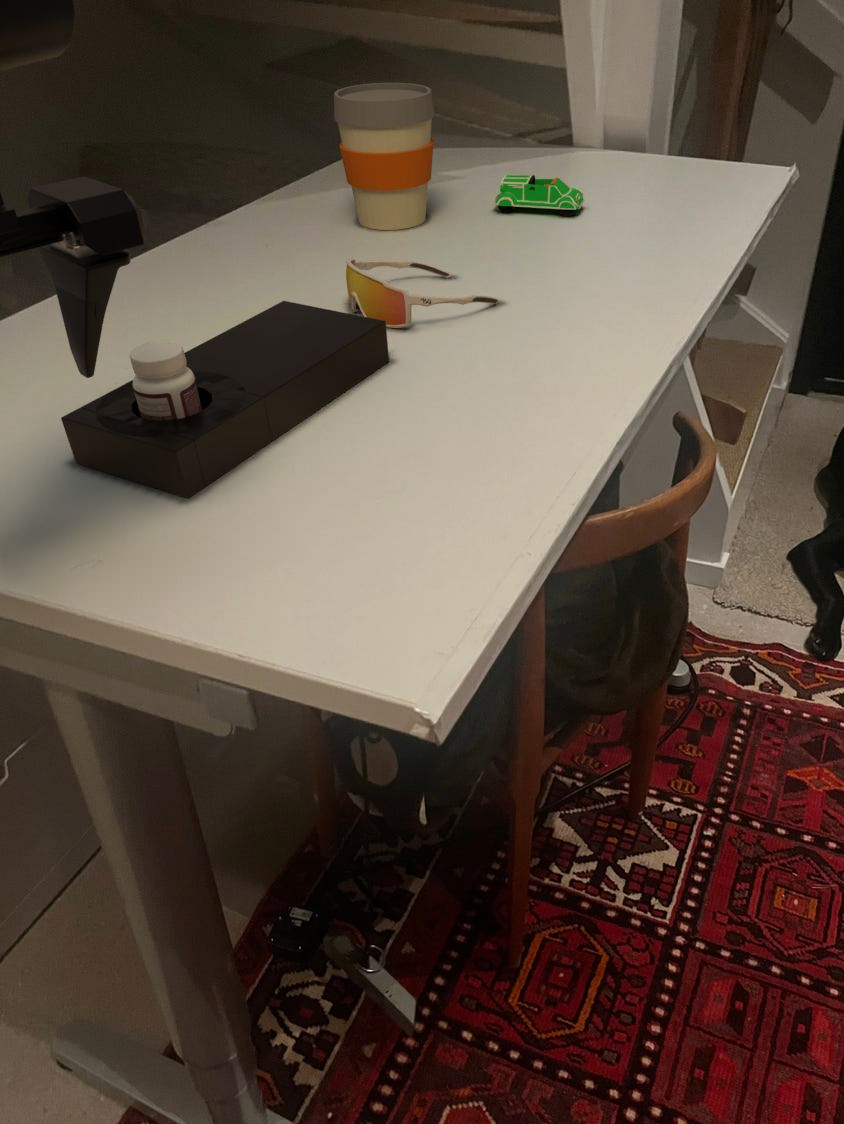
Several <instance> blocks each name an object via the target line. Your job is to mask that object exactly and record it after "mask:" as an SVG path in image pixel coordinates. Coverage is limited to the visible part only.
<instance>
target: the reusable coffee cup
mask: <svg viewBox="0 0 844 1124" xmlns="http://www.w3.org/2000/svg"><path fill="white" fill-rule="evenodd" d="M333 114H334V115H333V116H334V117H333V118H334V119H333V120H334V121H335V122H336V123H337V126H338V131H339V136H340V140H341V142H340V143H339V144H338V147H339V151H340V157H341V160H342V164H343V168H344V175H345V178H346V182H347V184H348V185H350V187H351V191H352V197H353V200H354V204H355V205H354V206H355V209H356V214H357V219H358V222H359V224H360V225H361V226H362V227H364V228H367V229H371V230H379V231H397V230H405V229H411V228H414V227H418V226H419V225H422V224H423V223H425V222H426V217H427V199H428V184H429V182H430V181H431V179H432V172H433V171H432V170H433V158H434V157H433V156H434V139H433V138H432V137H431V136H432V120H433V118H435V109H434V102H433V94H432V89H431V88H430V87H428V86H426V85H422V84H417V83H407V82H377V83H376V82H373V83H364V84H363V83H361V84H355V85H351V86H346V87H342V88H340V89H337V90H335V92H334V93H333Z"/></svg>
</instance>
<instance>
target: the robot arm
mask: <svg viewBox="0 0 844 1124" xmlns="http://www.w3.org/2000/svg"><path fill="white" fill-rule="evenodd" d="M75 11H76V10H75V3H74V0H0V72H2V71H6V70H11V69H15V68H18V67H23V66H27V65H30V64H35V63H40V62H43V61H47V60H51V59H55V58H58V57H60V56H61V55H63V54H64V53H65V52H66V51H67V49H68V48H69V46H70V44H71V43H72V42H73V37H74V33H75V29H76V12H75ZM26 200H27V201H26V204H27V207H28V208H27V209H23V210H18V211H16V210H15V208H13V207H10V206H7V205H5V203H4V202H5V201H4V199H3V196H2V193H1V192H0V258H2V257H6V256H10V255H13V254H14V255H15V254H18V253H21V252H25V251H30V250H33V249H37V251H38V253H39V255H40V257H41V260H42V261H43V262H44V265H45V267H46V270H47V271H48V273H49V274H50V277H51V279H52V281H53V285H54V289H55V294H56V297H57V301H58V305H59V308H60V314H61V316H62V321H63V325H64V329H65V333H66V337H67V341H68V344H69V345H68V346H69V348H70V351H71V352H70V353H71V354H72V357H73V360H74V362H75V365H76V368H77V370H78V372H79V374H80V375H81V376H83V377H84V378H86V379H89V378H93V377H94V375H95V371H96V365H97V360H98V354H99V348H100V342H101V336H102V331H103V326H104V321H105V316H106V312H107V307H108V305H109V301H110V297H111V294H112V291H113V288H114V285H115V281H116V278H117V274H118V272H119V270H120V269H121V268H123V267H125V266H128V265H130V263H131V256H130V252H128V251H126V250H128V249H133V248H136V247H140V246H143V245H145V244H146V243H147V241H148V236H147V232H146V227H145V223H144V219H143V215H142V211H141V209H140V207H139V206H138V204H137V202H136V201H135V199H134V197H133V196H131V195H130V194H129V193H128V192H127V191H125V190H124V189H123V188H120V187H116V186H113V185H111V184H108V183H105V182H102V181H99V180H97V179H93V178H91V177H88V176H80V177H75V178H71V179H70V178H69V179H66V180H61V181H57V182H53V183H48V184H42V185H38V186H34V187H30V188H28V193H27V199H26Z"/></svg>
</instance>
